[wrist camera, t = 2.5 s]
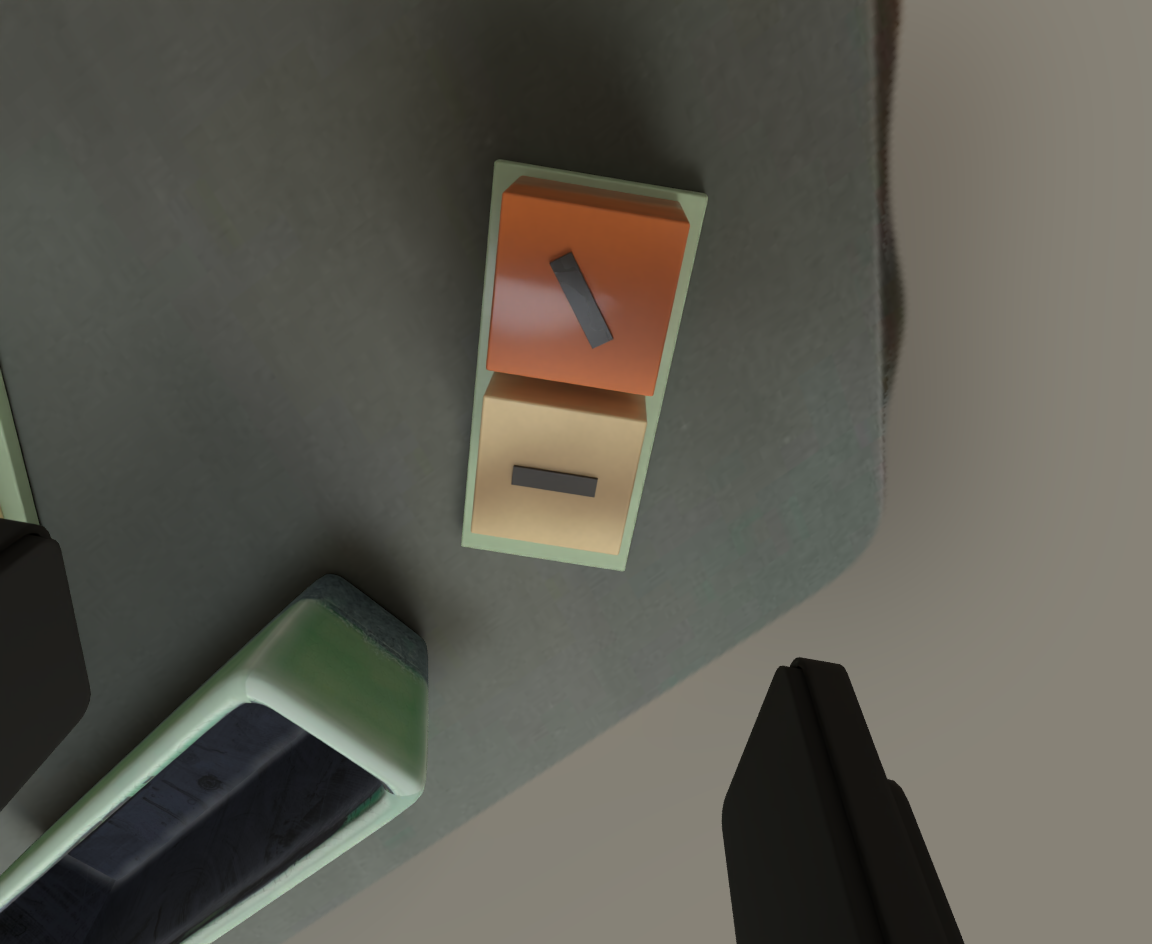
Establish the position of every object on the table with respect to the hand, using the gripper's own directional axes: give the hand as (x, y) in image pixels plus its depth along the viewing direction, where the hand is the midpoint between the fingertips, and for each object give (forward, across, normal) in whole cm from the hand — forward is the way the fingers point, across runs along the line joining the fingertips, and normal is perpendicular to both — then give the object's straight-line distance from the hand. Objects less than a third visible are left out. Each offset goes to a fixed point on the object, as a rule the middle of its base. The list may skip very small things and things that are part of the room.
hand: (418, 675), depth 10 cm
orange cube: (+14, -1, -2) cm, 15 cm away
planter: (+15, +12, +22) cm, 29 cm away
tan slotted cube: (+14, -1, +3) cm, 15 cm away
